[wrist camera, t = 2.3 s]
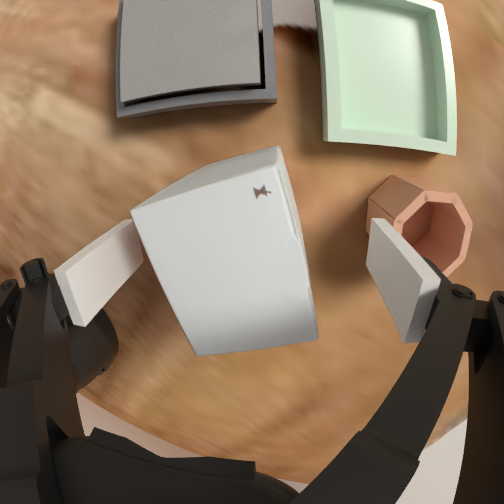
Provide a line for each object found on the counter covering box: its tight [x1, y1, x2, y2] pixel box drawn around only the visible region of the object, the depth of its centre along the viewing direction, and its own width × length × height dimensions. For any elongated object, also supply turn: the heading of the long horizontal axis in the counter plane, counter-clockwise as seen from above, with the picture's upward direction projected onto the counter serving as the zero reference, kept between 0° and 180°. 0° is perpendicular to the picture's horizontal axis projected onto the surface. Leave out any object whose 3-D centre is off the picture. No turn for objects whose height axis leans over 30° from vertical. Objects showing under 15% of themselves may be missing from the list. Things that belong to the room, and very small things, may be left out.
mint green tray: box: [314, 0, 457, 156], centre depth 16 cm, size 11×14×2 cm
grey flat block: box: [116, 0, 277, 118], centre depth 16 cm, size 12×12×4 cm
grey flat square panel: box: [120, 0, 261, 103], centre depth 15 cm, size 10×10×1 cm
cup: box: [366, 175, 473, 277], centre depth 20 cm, size 7×7×6 cm
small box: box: [130, 145, 318, 356], centre depth 17 cm, size 8×6×13 cm
